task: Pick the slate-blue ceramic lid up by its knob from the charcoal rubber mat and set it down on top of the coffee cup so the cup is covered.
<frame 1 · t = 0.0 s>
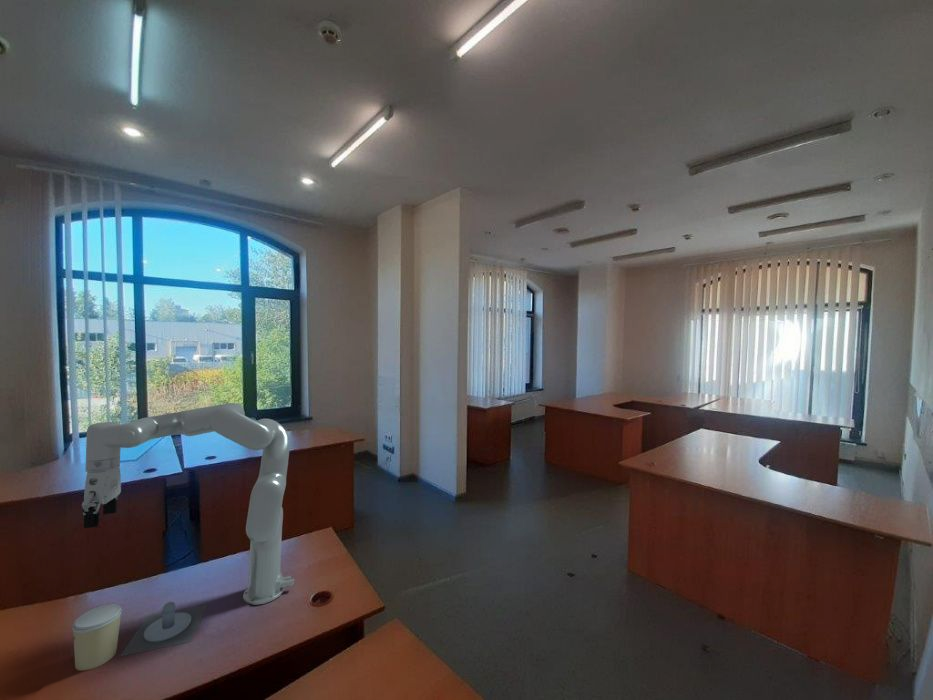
hand: (101, 519, 112), 31 cm above the table, tool pointing down, fingers open, 9 cm apart
mat: (168, 630, 110), on the table
coffee cup: (96, 661, 99), on the table
lid: (168, 628, 110), point 1 cm above the table, touching mat
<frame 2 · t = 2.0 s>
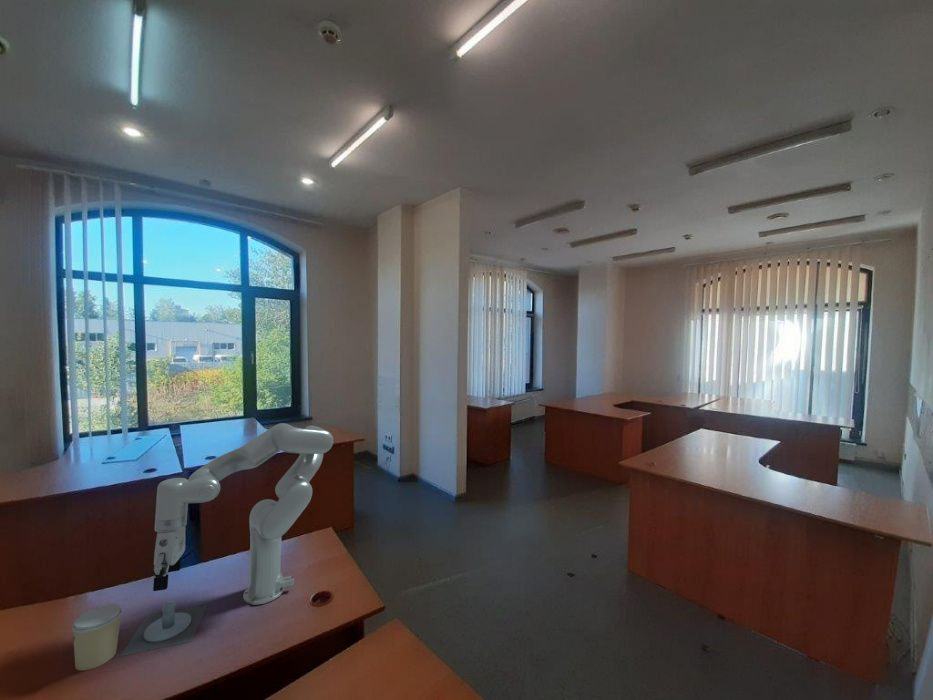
hand: (167, 579, 110), 15 cm above the table, tool pointing down, fingers open, 9 cm apart
nothing on the table moved.
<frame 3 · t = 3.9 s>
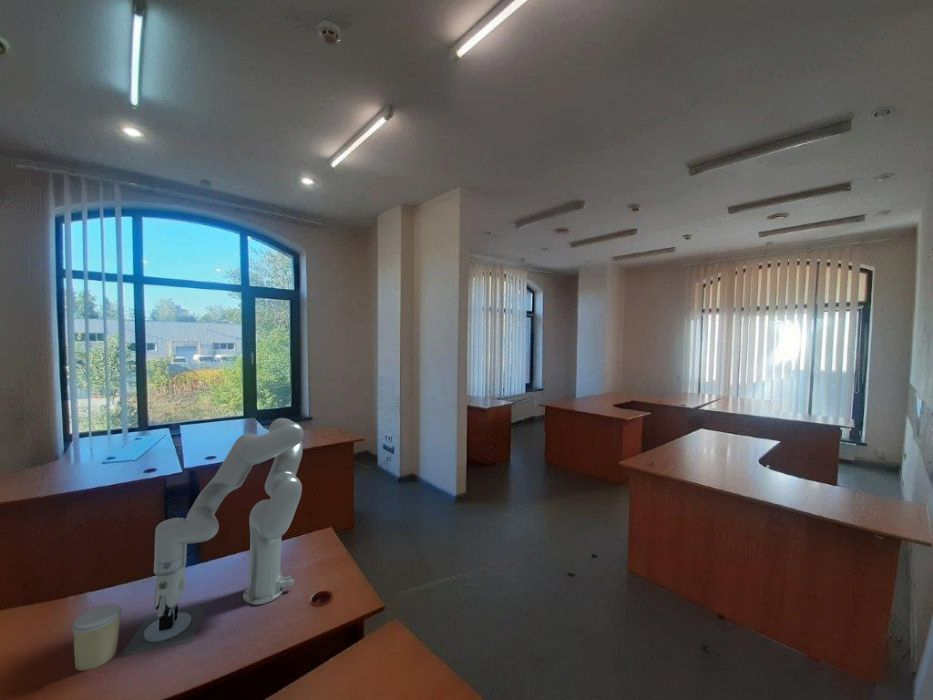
hand: (168, 624, 110), 2 cm above the table, tool pointing down, fingers closed on lid, 2 cm apart
lid: (168, 628, 110), point 1 cm above the table, touching gripper, mat
everything else where it was.
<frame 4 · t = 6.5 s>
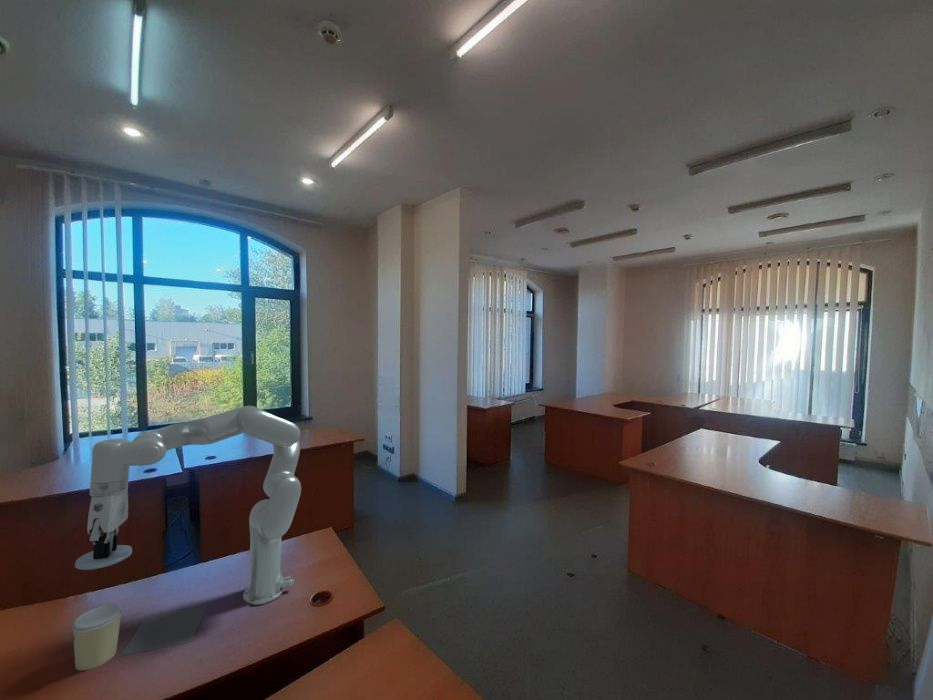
hand: (105, 553, 100), 28 cm above the table, tool pointing down, fingers closed on lid, 2 cm apart
lid: (104, 558, 100), point 27 cm above the table, touching gripper
everything else where it was.
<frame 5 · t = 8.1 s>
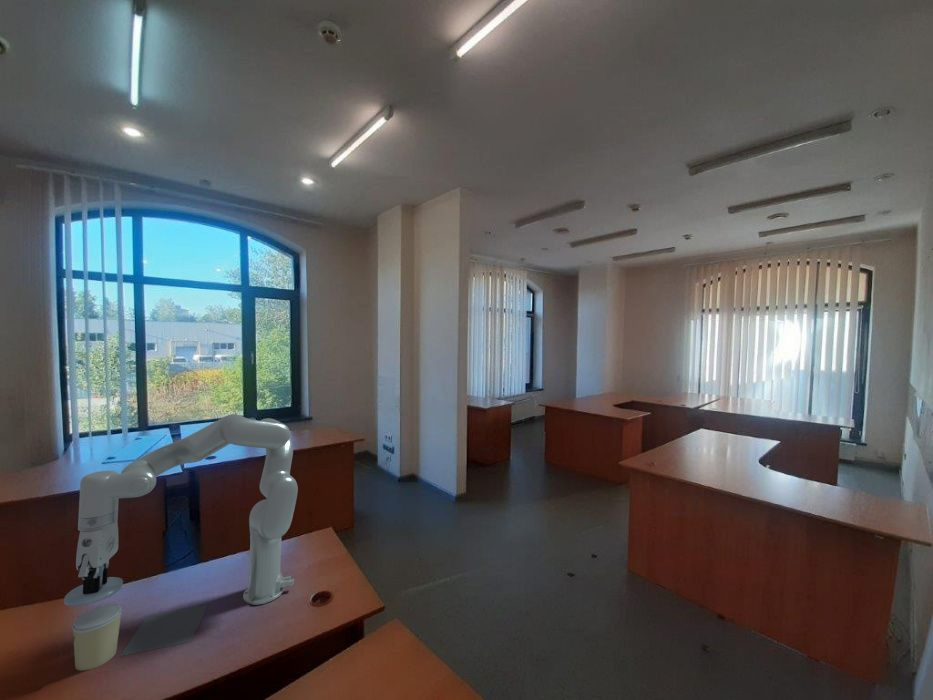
hand: (95, 588, 98), 20 cm above the table, tool pointing down, fingers closed on lid, 2 cm apart
lid: (94, 592, 98), point 18 cm above the table, touching gripper
everything else where it was.
when the fingers open (15 cm above the table, at t = 9.2 s): lid drops 1 cm, resting on coffee cup.
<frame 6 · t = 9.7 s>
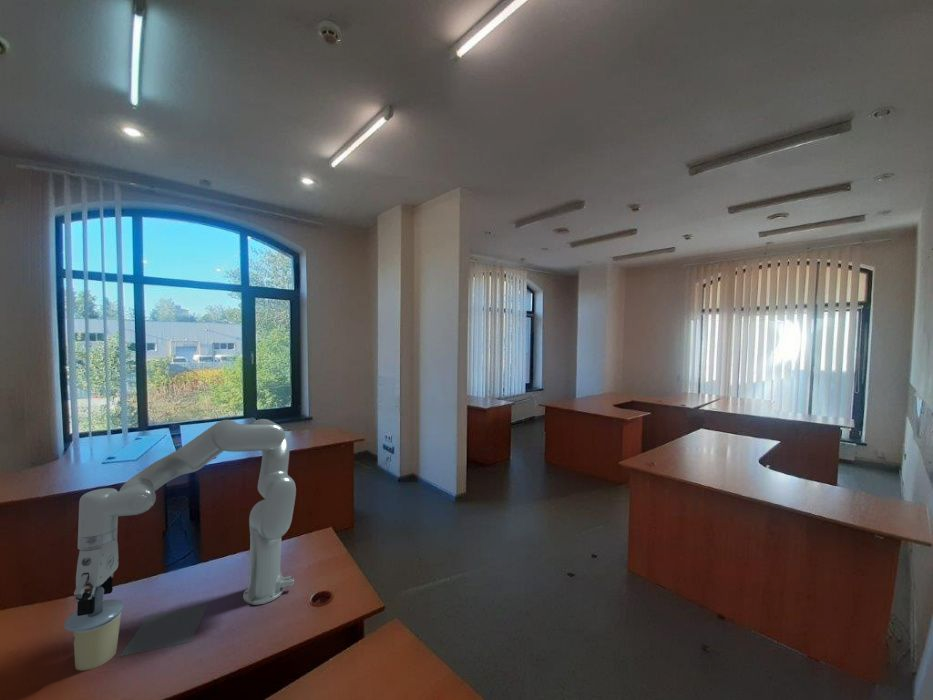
hand: (95, 603, 99), 15 cm above the table, tool pointing down, fingers open, 7 cm apart
coffee cup: (96, 660, 99), on the table, touching lid
lid: (95, 616, 99), point 12 cm above the table, touching coffee cup
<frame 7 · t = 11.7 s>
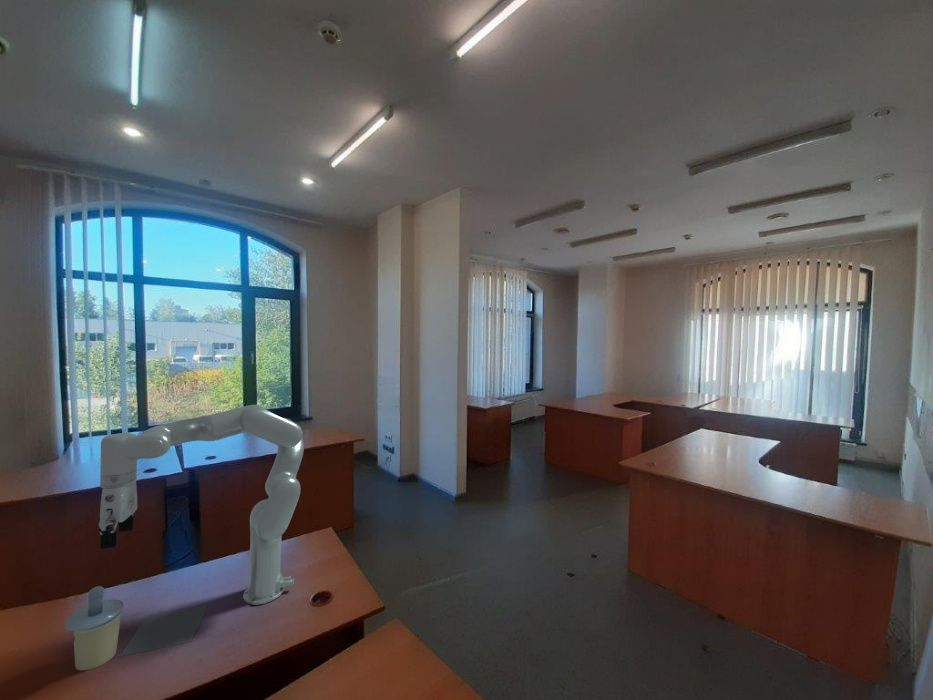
hand: (117, 538, 104), 30 cm above the table, tool pointing down, fingers open, 9 cm apart
nothing on the table moved.
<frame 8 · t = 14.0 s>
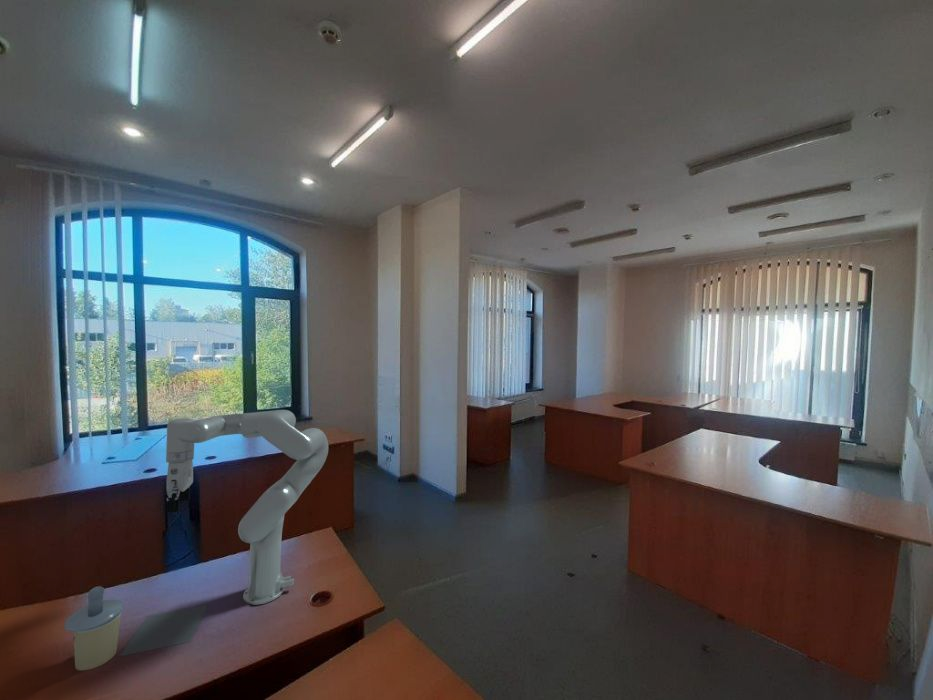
hand: (178, 505, 126), 30 cm above the table, tool pointing down, fingers open, 9 cm apart
nothing on the table moved.
at the end: lid 0.5 cm off-centre on the coffee cup, point 12.2 cm above the coffee cup's base; lid tilted 0°; the gripper is holding nothing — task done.
